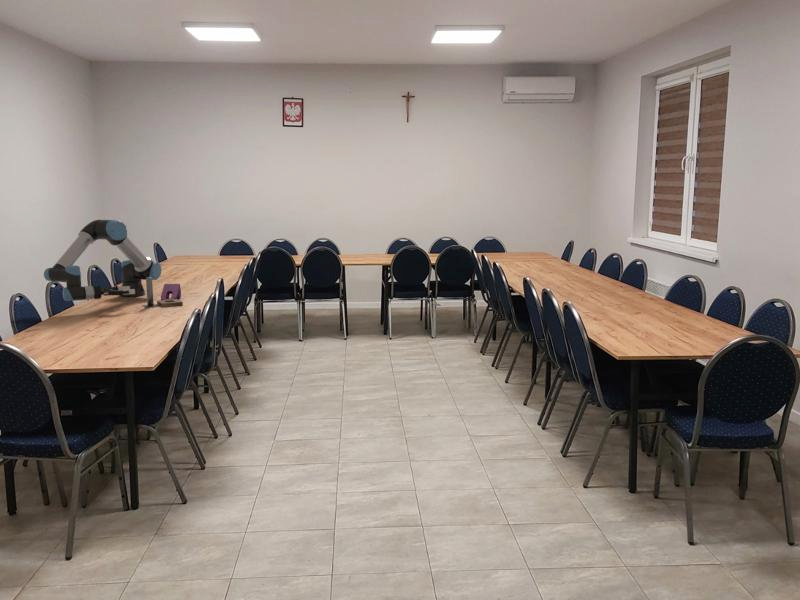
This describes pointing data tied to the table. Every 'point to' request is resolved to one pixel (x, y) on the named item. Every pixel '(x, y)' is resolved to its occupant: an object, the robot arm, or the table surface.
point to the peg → (149, 291)
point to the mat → (150, 307)
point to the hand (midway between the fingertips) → (132, 290)
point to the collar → (170, 303)
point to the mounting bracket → (171, 291)
